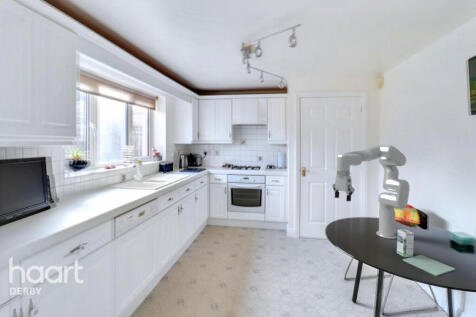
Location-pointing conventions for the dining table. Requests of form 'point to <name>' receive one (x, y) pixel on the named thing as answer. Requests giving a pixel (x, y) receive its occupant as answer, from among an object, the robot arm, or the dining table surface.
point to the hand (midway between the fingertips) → (342, 199)
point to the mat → (429, 265)
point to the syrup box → (405, 243)
